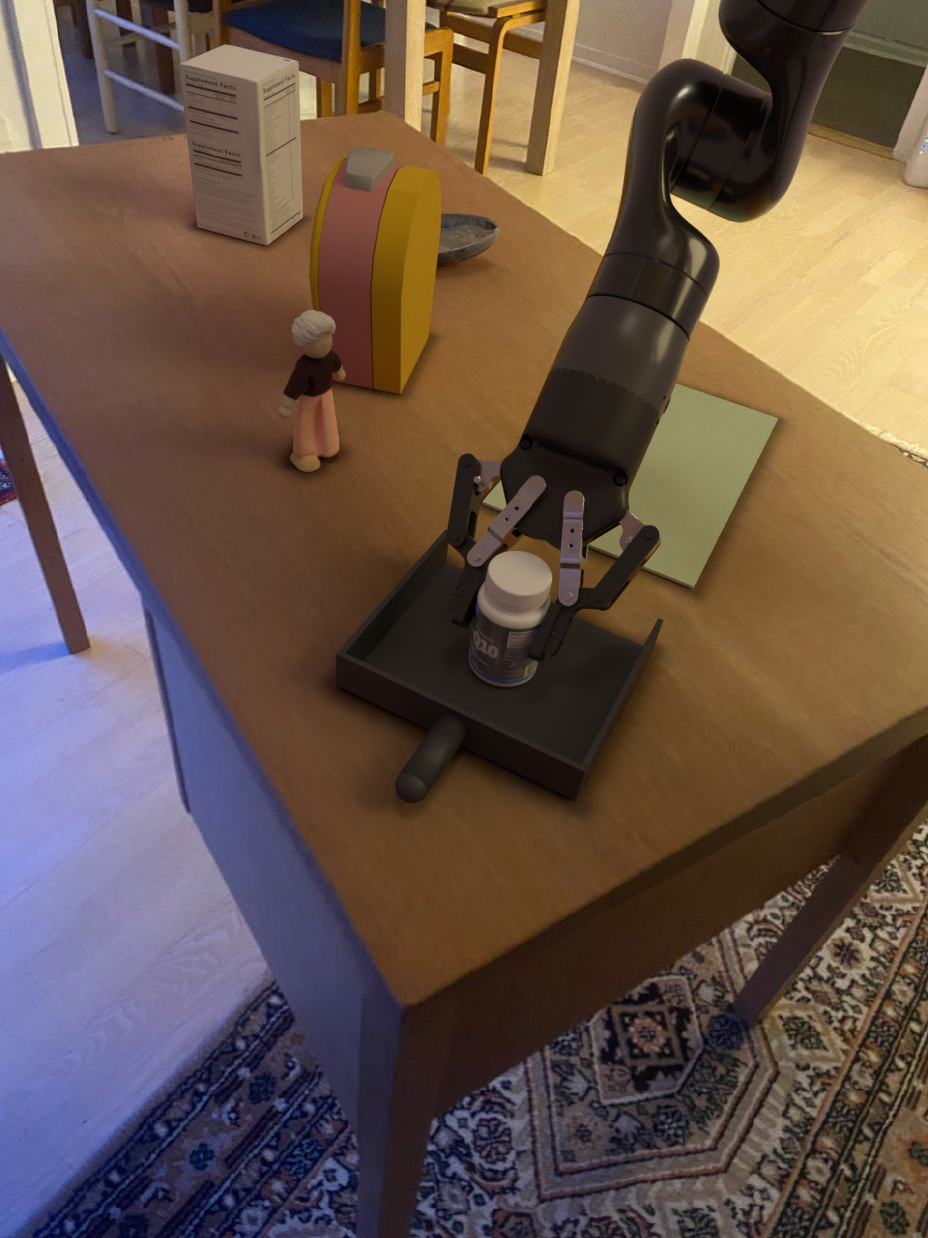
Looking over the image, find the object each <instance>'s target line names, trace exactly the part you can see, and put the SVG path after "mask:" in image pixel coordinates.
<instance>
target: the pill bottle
mask: <svg viewBox="0 0 928 1238" xmlns="http://www.w3.org/2000/svg"><path fill="white" fill-rule="evenodd" d="M552 583H553V573H552V570H551V567H550V566H549V565H548V563H547V562H546V561H545V560H543V559H542V558H541V557H539V556H538V555H535V554H533V553H531V552H527V551H524V550H508V551H507V552H503V553H501V554H498V555H497V556H495V557H494V558H493V559H492V560H491V562H490V563H489V566H488V570H487V575H486V578H485V581H484V582H483V584H482V585H481V587H480V589H479V592H478V595H477V601H476V608H475V615H474V621H473V627H472V634H471V639H470V645H469V652H468V660H469V664H470V666H471V668H472V670H473V672H474V673H475V674H476V675H477V676H478V677H479V678H480V679H481V680H483V681H485V682H486V683H488V684H491V685H494V686H499V687H513V686H517V685H520V684H523V683H525V682H527V681H528V680H529V679H530V678H531V677H532V676H533V675H534V673H535V671H536V668H537V665H538V662H537V661H535V660H533V659H531V658H528V655H529V652H530V649H531V647H532V645H533V642H534V640H535V638H536V635H537V633H538V631H539V628H540V626H541V624H542V622H543V619H544V617H545V615H546V612H547V610H548V608H549V605H550V603H551V602H553V601H552V597H551V594H550V592H551V588H552Z"/></svg>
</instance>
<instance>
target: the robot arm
mask: <svg viewBox="0 0 928 1238" xmlns="http://www.w3.org/2000/svg"><path fill="white" fill-rule="evenodd" d="M870 1H871V0H720V1H719V5H718V13H717V18H718V25H719V28H720V32H721V33H722V35H723V38H724V39H725V41H726V42H727V43H728V45H729V46H730V47H731V48H732V50H733V51H735V52H736V54H738V56H739V57H740V58H741V59H742V60H744V61H745V62H746V63H747V64H748V65H749V66H750V67H751V68H752V69H754V70H755V72H757V74H759V75H760V76H761V78H763V80H764V81H765V83H766V84H767V85H768V87H769V89H770V92H768V91H764V90H763V89H761V88H758V87H757V86H754V85H753V84H751V83H748V82H746V81H745V80H741V79H740V78H738V77H735V76H733V75H731V74H729V73H724V71H723V70H721V69H719V68H716V67H714V66H712V65H711V64H708V63H706V62H704V61H702V60H698V59H695V58H680V59H676V60H673V61H672V62H671V61H670V62H669V63H668V64H666V65H664V66H663V67H662V68H660V69H659V70H658V71H657V72H656V73H655V74H654V75H653V76H652V77H651V78H649V80H648V82H647V83H646V85H645V86H644V88H643V89H642V92H641V93H640V96H639V98H638V100H637V102H636V105H635V108H634V111H633V114H632V117H631V124H630V129H629V132H628V133H629V134H628V140H627V146H626V157H625V164H624V174H623V180H622V181H623V182H622V188H621V189H622V190H621V194H620V200H619V205H618V208H617V209H618V210H617V214H616V218H615V222H614V225H613V229H612V232H611V236H610V238H609V240H608V243H607V246H606V249H605V251H604V253H603V256H602V258H601V260H600V263H599V266H598V268H597V270H596V272H595V275H594V277H593V279H592V281H591V283H590V286H589V289H588V291H587V293H586V296H585V298H584V301H583V303H582V305H581V307H580V309H579V310H578V312H577V314H576V315H575V317H574V319H573V320H572V322H570V323H571V324H570V325H569V327H568V328H567V330H566V332H565V335H564V337H563V339H562V340H561V344H560V345H559V348H558V350H557V353H556V354H555V357H554V360H553V362H552V365H551V367H550V369H549V371H548V374H547V376H546V378H545V380H544V382H543V385H542V387H541V390H540V392H539V394H538V397H537V399H536V401H535V404H534V406H533V408H532V411H531V413H530V415H529V418H528V419H527V422H526V424H525V426H524V429H523V432H522V434H521V436H520V439H519V441H518V444H517V445H516V447H515V448H514V449H513V450H512V451H511V452H510V453H509V454H508V455H506V456H505V457H504V458H503V460H502V461H501V460H500V461H498V460H488V459H480V458H477V457H476V456H475V455H474V454H472V453H468V452H467V453H464V454H462V455H461V456H460V457H459V458H458V461H457V467H456V472H455V479H454V484H453V491H452V497H451V504H450V510H449V515H448V516H449V517H448V523H447V528H446V530H447V534H446V540H447V542H448V546H451V547H452V548H453V549H454V550H455V551H456V552H457V553H458V554H459V555H460V556H462V558H463V562H464V567H463V568H462V569H463V572H462V574H461V576H460V579H459V581H458V583H457V586H456V589H455V590H454V593H453V595H452V597H451V600H450V602H449V612H452V613H454V615H453V618H452V623H453V624H455V625H458V626H460V627H462V628H468V627H469V626H470V624H471V622H472V620H473V618H474V615H475V608H476V601H477V595H478V592H479V589H480V587H481V585H482V584H483V582H484V581H485V578H486V575H487V570H488V566H489V563H490V562H491V560H492V559H493V558H494V557H495V556H497V555H498V554H501V553H503V552H507V551H510V549H512V548H513V547H515V546H516V544H517V543H518V542H519V541H520V540H521V539H522V538H523V537H524V536H525V537H528V538H530V539H532V540H540V541H545V542H547V543H548V544H549V545H551V546H552V547H553V548H554V549H556V550H559V551H560V553H559V554H560V555H559V583H558V594H557V597H556V599H555V602H553V601H552V602H551V603H550V605H549V608H548V610H547V612H546V615H545V617H544V619H543V622H542V624H541V626H540V628H539V631H538V633H537V635H536V638H535V640H534V642H533V645H532V647H531V649H530V652H529V655H528V658H531V659H533V660H535V661H537V662H543V660H544V659H545V657H546V655H548V656H551V657H553V656H554V655H555V654H556V653H557V652H558V651H559V650H560V648H561V645H562V643H563V641H564V638H565V636H566V634H567V632H568V629H569V627H570V625H571V622H572V620H573V618H574V617H576V614H577V613H579V612H580V611H582V610H597V611H600V612H605V611H609V610H610V609H611V608H612V607H613V605H614V604H615V603H616V602H617V600H618V599H619V598H620V597H621V595H622V594H623V593H624V592H625V590H626V589H627V588H628V587H629V585H630V584H632V581H633V580H634V579H635V578H636V576H637V575H638V574H639V573H640V572H641V570H643V569H642V568H643V566H644V565H645V564H646V562H647V561H648V560H649V559H650V557H651V556H652V555H653V554H654V552H655V551H656V550H657V549H658V547H659V546H660V544H661V535H660V532H659V530H658V529H657V528H656V527H655V526H653V525H647V524H646V523H644V522H643V521H641V520H640V519H639V518H637V517H636V516H635V515H633V514H632V513H631V512H629V501H628V498H629V491H630V488H631V486H632V483H633V481H634V479H635V476H636V474H637V472H638V469H639V467H640V465H641V463H642V460H643V458H644V456H645V453H646V451H647V449H648V447H649V444H650V442H651V440H652V437H653V435H654V433H655V431H656V428H657V426H658V424H659V421H660V419H661V417H662V415H663V414H664V413H665V411H666V410H667V408H668V405H669V403H670V400H671V394H672V392H673V389H674V387H675V385H676V383H677V382H678V379H679V377H680V373H681V370H682V366H683V363H684V359H685V356H686V352H687V350H688V347H689V344H690V342H691V340H692V338H693V336H694V333H695V331H696V328H697V325H698V324H699V321H700V319H701V317H702V315H703V313H704V310H705V308H706V306H707V303H708V302H709V299H710V296H711V294H712V292H713V290H714V287H715V286H716V285H715V284H716V282H717V279H718V276H719V273H720V268H721V267H720V266H721V259H720V256H719V252H718V250H717V248H716V247H715V246H714V244H713V242H712V241H711V240H710V239H708V238H707V236H706V235H704V234H703V232H701V231H700V230H699V229H698V228H697V227H696V226H694V225H693V224H692V223H691V222H690V221H688V220H687V218H685V217H684V216H683V215H682V214H681V213H680V212H679V211H678V209H677V208H676V206H675V205H674V204H673V203H674V202H673V201H672V197H671V196H674V197H676V198H678V199H680V200H682V201H685V202H687V203H689V204H691V205H693V206H696V207H697V208H700V209H702V210H703V211H707V212H708V213H711V214H713V215H714V216H717V217H718V218H721V219H724V220H726V221H728V222H733V223H737V224H743V223H748V222H752V221H754V220H758V219H759V218H761V217H763V216H764V215H766V214H768V213H769V212H770V211H772V210H773V209H774V208H775V207H776V206H777V205H778V204H779V203H780V202H781V200H782V199H783V198H784V196H785V195H786V193H787V192H788V190H789V188H790V186H791V184H792V182H793V180H794V177H795V174H796V172H797V169H798V166H799V165H800V160H801V157H802V154H803V151H804V147H805V143H806V140H807V136H808V134H809V130H810V127H811V123H812V120H813V116H814V112H815V110H816V107H817V104H818V101H819V99H820V97H821V94H822V91H823V89H824V86H825V83H826V81H827V79H828V76H829V74H830V72H831V70H832V67H833V65H834V64H835V61H836V59H837V57H838V55H839V53H840V52H841V49H842V47H843V45H844V44H845V42H846V40H847V38H848V37H849V35H850V34H851V32H852V30H853V28H854V27H855V25H856V23H857V21H858V20H859V19H860V17H861V16H862V14H863V12H864V10H866V8H867V6H868V4H869V2H870ZM498 480H501V482H502V487H503V492H504V496H505V501H506V507H505V508H504V509H503V510H502V511H501V512H499V514H498V515H497V516H496V517H495V518H494V519H493V520H492V522H491V523H490V524H489V526H488V527H487V530H486V531H485V532H484V534H483V535H482V536H481V537H480V538H479V540H478V541H477V540H476V539H475V538H476V532H477V526H478V519H479V514H480V506H481V500H482V495H486V494H489V493H490V492H491V491H492V488H493V485H494V483H495V482H496V481H498ZM619 525H621V526H622V528H623V533H622V535H621V537H620V540H619V544H620V547H621V548H622V550H623V553H622V554H621V555H620V556H619V558H618V559H617V558H616V560H615V561H614V563H612V565H611V566H610V568H608V570H607V571H606V573H605V574H604V575H603V576H602V578H601V579H600V580H599V581H598V582H597V584H596V585H595V587H585V580H586V572H587V568H588V557H589V547H588V544H589V543H591V542H592V541H594V540H596V539H597V538H599V537H601V536H602V535H604V534H606V533H607V532H609V531H611V530H612V529H614V528H615V527H617V526H619Z"/></svg>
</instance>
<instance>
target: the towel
mask: <svg viewBox="0 0 928 1238" xmlns="http://www.w3.org/2000/svg"><path fill="white" fill-rule="evenodd" d="M778 420H779V417H776V416H773V415H770V414H767V413H764V412H761V411H758V410H756V409H752V408H750V407H747V406H744V405H742V404H738V403H735V402H733V401H729V400H726V399H725V398H722V397H721V398H720V397H718V396H715V395H711V394H709V393H706V392H703V391H701V390H697V389H695V388H691V387H690V386H689V387H688V386H686V385H682V384H679V383H677V382H676V385H675V387H674V389H673V392H672V394H671V400H670V403H669V405H668V408H667V410H666V411H665V413H664V414H663V415H662V417H661V419H660V421H659V424H658V426H657V428H656V431H655V433H654V435H653V437H652V440H651V442H650V444H649V447H648V449H647V451H646V453H645V456H644V458H643V460H642V463H641V465H640V467H639V469H638V472H637V474H636V476H635V479H634V481H633V483H632V486H631V488H630V491H629V498H628V501H629V512H631V513H632V514H633V515H635V516H636V517H637V518H639V519H640V520H641V521H643V522H644V523H646V524H647V525H653V526H655V527H656V528H657V529H658V530H659V532H660V535H661V544H660V546H659V547H658V549H657V550H656V551H655V552H654V554H653V555H652V556H651V557H650V559H649V560H648V561H647V562H646V564H645V565H644V566H643V568H642V569H641V570H644V571H647V572H650V573H652V574H654V575H656V576H659V577H662V578H664V579H667V580H669V581H672V582H674V583H677V584H679V585H682V586H684V587H686V588H689V589H692V590H693V589H694V588H695V586H696V584H697V582H698V580H699V578H700V575H701V574H702V572H703V571H704V568H705V566H706V564H707V562H708V560H709V558H710V556H711V555H712V552H713V550H714V548H715V545H716V544H717V542H718V539H719V538H720V537H721V534H722V531H723V530H724V528H725V526H726V524H727V521H728V520H729V518H730V516H731V514H732V512H733V511H734V508H735V506H736V504H737V502H738V500H739V498H740V496H741V494H742V492H743V490H744V488H745V486H746V484H747V482H748V481H749V478H750V476H751V474H752V472H753V470H754V469H755V466H756V464H757V462H758V460H759V458H760V456H761V454H762V452H763V451H764V448H765V446H766V444H767V442H768V440H769V438H770V436H771V434H772V432H773V430H774V428H775V426H776V424H777V422H778ZM481 505H483V506H485V507H488V508H490V509H492V510H494V511H498V512H499V513H501V511H502V510H503V509H504V508H505V507H506V501H505V496H504V492H503V487H502V482H501V479H499V481H498V483H497V484H496V485H495V486H494V487H493V489H491V490H490V491H489V492H488V493H487V496H486V497H485V498H484V499H483V500H482V502H481ZM622 533H623V528H622V526H621V525H619V526H617V527H615V528H614V529H612V530H611V531H609V532H607V533H606V534H604V535H602V536H601V537H599V538H597V539H596V540H594V541H592V542H591V543H589V544H588V549H592V550H594V551H597V552H600V553H602V554H605V555H607V556H609V557H612V558H615V559H616V560H617V559H618V558H619V556H620V555H621V554H622V553H623V550H622V548H621V547H620V544H619V540H620V537H621V535H622Z"/></svg>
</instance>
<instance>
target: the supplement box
mask: <svg viewBox="0 0 928 1238" xmlns="http://www.w3.org/2000/svg"><path fill="white" fill-rule="evenodd" d="M299 63H300V62H299V61H298V60H296V59H292V58H287V57H285V56H284V57H283V56H279V55H274V54H270V53H266V52H261V51H257V50H253V49H249V48H245V47H240V46H236V45H232V44H222V45H220V46H217V47H215V48H213V49H211V50H208V51H206V52H204V53H202V54H199V55H197V56H195V57H192V58H189V59H188V60H185V61H183V62H181V63H179V64H178V71H179V80H180V86H181V95H182V96H181V97H182V104H183V105H182V106H183V113H184V121H185V131H186V140H187V149H188V157H189V166H190V173H191V174H190V175H191V181H192V182H191V183H192V191H193V200H194V201H193V202H194V208H195V219H196V227H197V228H199V229H202V230H206V231H209V232H213V233H218V234H221V235H225V236H228V237H232V238H237V239H240V240H244V241H247V242H250V243H255V244H258V245H262V246H265V247H266V246H269V245H270V244H271V243H272V242H274V241H275V240H276V239H277V238H279V237H281V235H283V234H284V233H285V232H287V231H288V230H289V229H290V228H292V227H293V226H295V225H296V224H297V223H299V222H300V221H302V220H303V219H304V205H303V204H304V201H303V169H302V138H301V136H302V135H301V100H300V98H301V97H300V95H301V94H300V64H299ZM302 210H303V211H302ZM300 212H301V213H300ZM299 213H300V214H299ZM298 214H299V215H298ZM293 218H294V219H293ZM207 222H208V223H207ZM211 223H212V224H211ZM214 224H215V225H214Z"/></svg>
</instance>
